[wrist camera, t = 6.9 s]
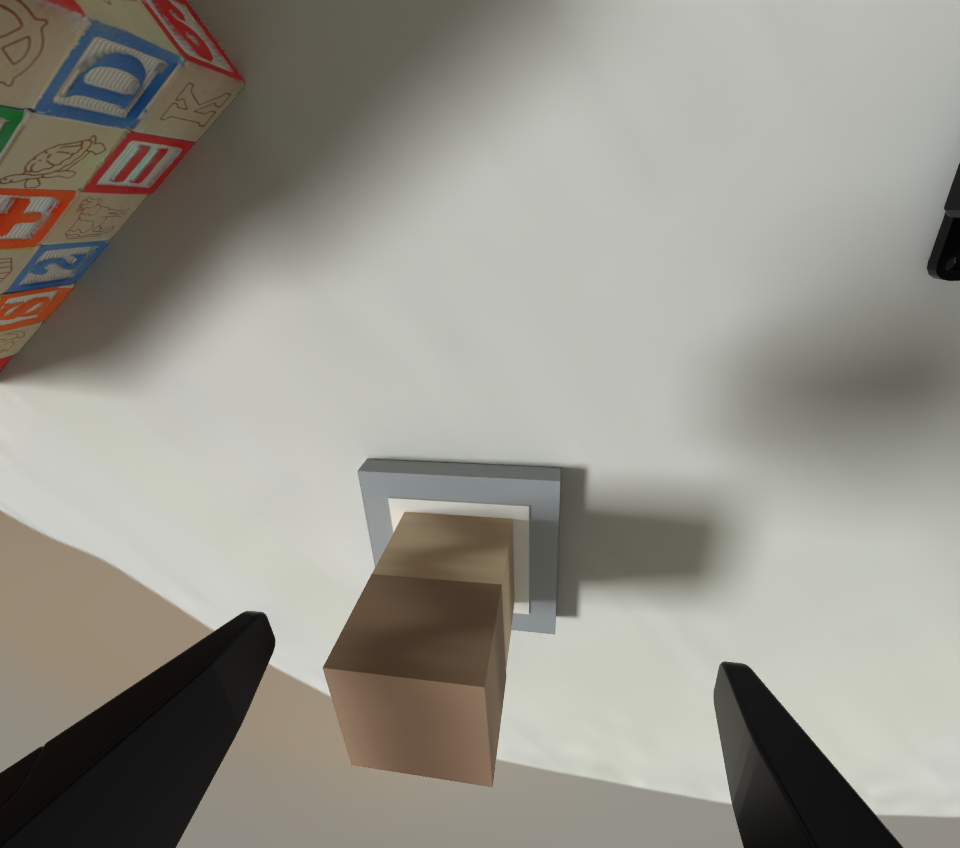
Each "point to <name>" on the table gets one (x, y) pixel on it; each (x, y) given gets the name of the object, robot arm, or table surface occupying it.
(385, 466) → the grey flat square
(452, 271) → the table surface
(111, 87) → the stack of blocks
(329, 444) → the table surface
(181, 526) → the table surface
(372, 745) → the walnut block
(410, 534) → the oak block
